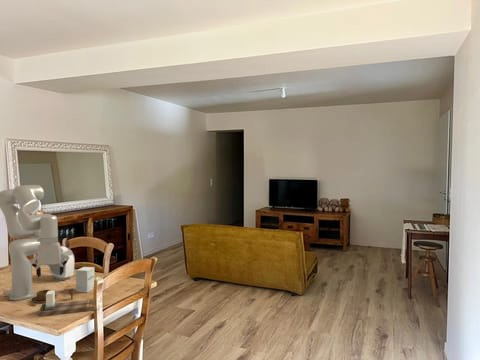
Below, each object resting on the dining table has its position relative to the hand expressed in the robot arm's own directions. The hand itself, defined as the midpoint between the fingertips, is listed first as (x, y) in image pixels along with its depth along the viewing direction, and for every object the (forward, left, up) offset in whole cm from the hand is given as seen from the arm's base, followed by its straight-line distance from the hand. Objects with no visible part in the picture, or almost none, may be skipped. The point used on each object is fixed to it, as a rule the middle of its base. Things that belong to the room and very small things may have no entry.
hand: (50, 275), depth 171 cm
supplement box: (+13, +27, -18) cm, 35 cm away
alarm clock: (-4, +55, -18) cm, 58 cm away
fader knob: (0, 0, -16) cm, 16 cm away
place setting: (-4, +16, -19) cm, 25 cm away
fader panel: (+9, 0, -18) cm, 20 cm away
